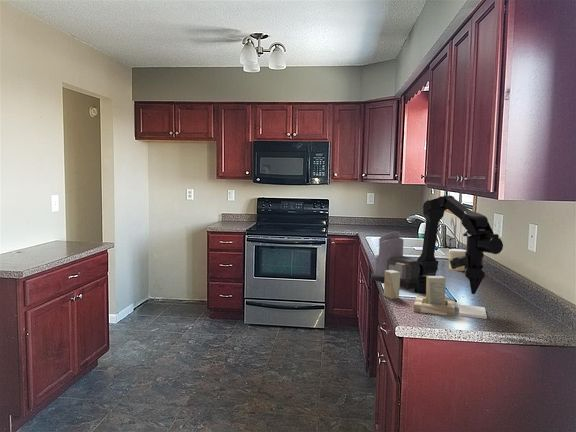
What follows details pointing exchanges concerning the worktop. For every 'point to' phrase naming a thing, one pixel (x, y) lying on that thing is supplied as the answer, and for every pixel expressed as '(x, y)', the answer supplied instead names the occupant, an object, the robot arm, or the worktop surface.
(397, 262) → the juicer
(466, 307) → the tile
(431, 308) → the frame
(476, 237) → the robot arm
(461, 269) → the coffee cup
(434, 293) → the skincare box
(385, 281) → the box
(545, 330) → the worktop surface
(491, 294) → the worktop surface
